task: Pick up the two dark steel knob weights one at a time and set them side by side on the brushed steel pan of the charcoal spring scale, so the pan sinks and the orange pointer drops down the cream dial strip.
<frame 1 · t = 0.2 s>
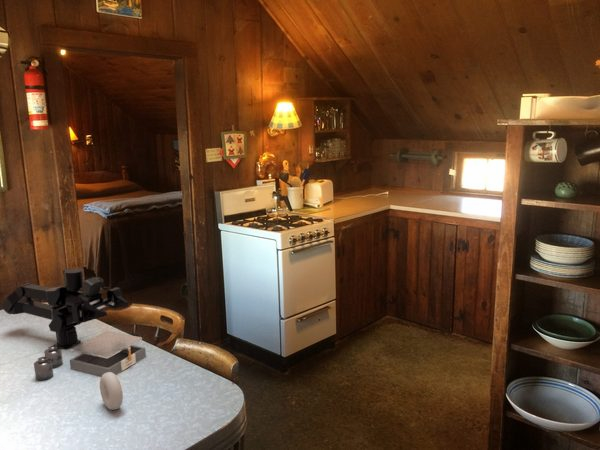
hand: (117, 309, 166), 17 cm above the table, tool horizontal, fingers open, 9 cm apart
weight 1: (44, 377, 157), on the table
weight 2: (54, 365, 165), on the table
scale pan: (109, 349, 165), point 5 cm above the table, slide at 0.4 cm
donut: (113, 408, 140), on the table
scale base: (109, 362, 166), on the table
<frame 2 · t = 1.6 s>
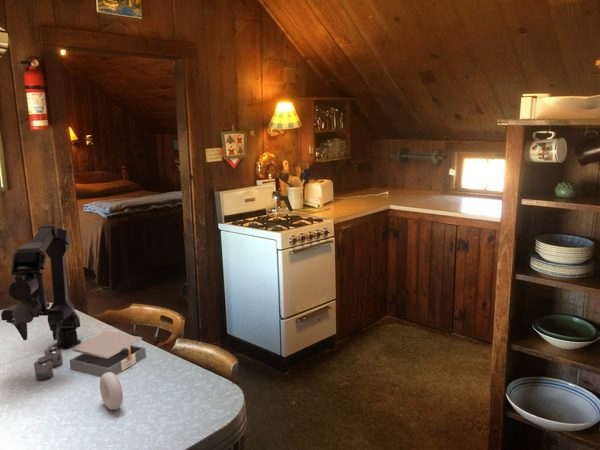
hand: (40, 339, 155), 12 cm above the table, tool pointing down, fingers open, 9 cm apart
nothing on the table moved.
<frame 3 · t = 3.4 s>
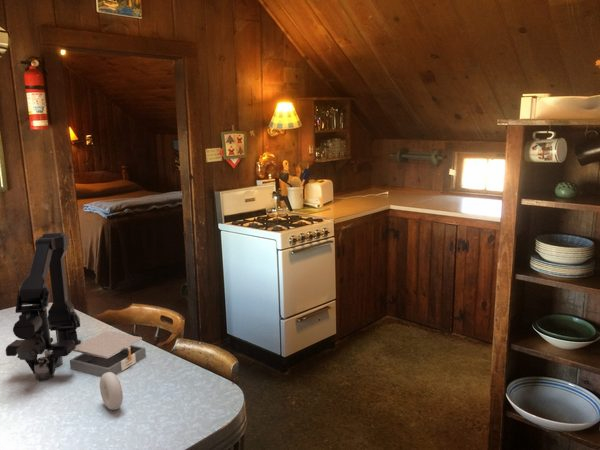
hand: (44, 374, 157), 1 cm above the table, tool pointing down, fingers closed on weight 1, 5 cm apart
weight 1: (44, 377, 157), on the table, touching gripper
everything else where it was.
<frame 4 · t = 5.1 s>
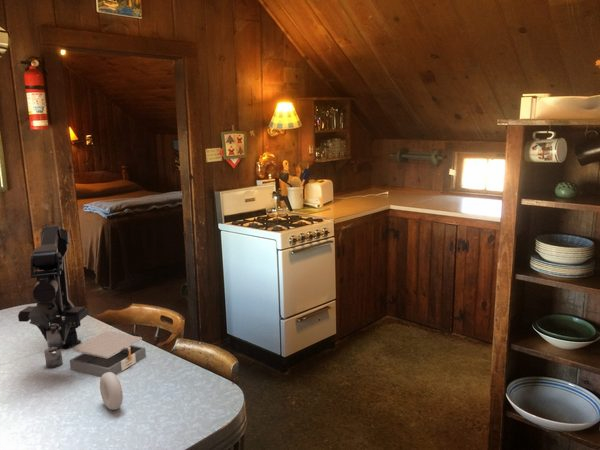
hand: (56, 340, 157), 11 cm above the table, tool pointing down, fingers closed on weight 1, 5 cm apart
weight 1: (56, 344, 157), point 10 cm above the table, touching gripper
everything else where it was.
when the fingers open (10 cm above the table, at t = 6.8 s): weight 1 drops 3 cm, resting on scale pan.
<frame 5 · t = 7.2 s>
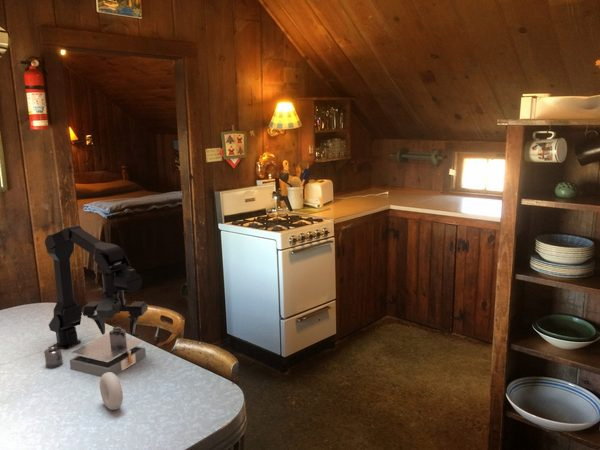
hand: (117, 334, 164), 10 cm above the table, tool pointing down, fingers open, 9 cm apart
weight 1: (118, 346, 165), point 5 cm above the table, touching scale pan
scale pan: (110, 352, 165), point 4 cm above the table, slide at 1.6 cm, touching weight 1
everything else where it was.
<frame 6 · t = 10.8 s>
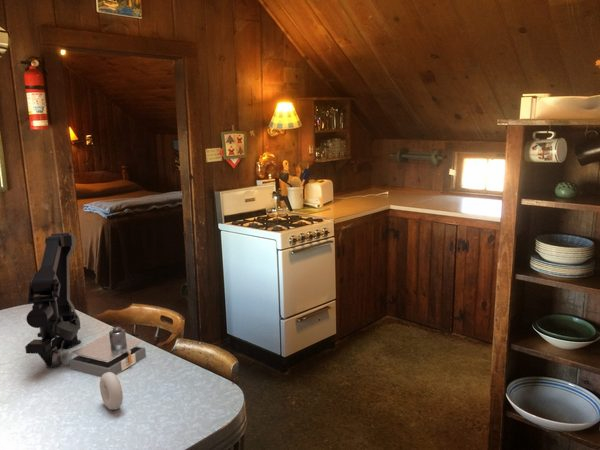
hand: (54, 362, 165), 1 cm above the table, tool pointing down, fingers closed on weight 2, 5 cm apart
weight 2: (54, 365, 165), on the table, touching gripper
everything else where it was.
when the fingers open (9 cm above the table, at t = 13.9 s): weight 2 drops 3 cm, resting on scale pan.
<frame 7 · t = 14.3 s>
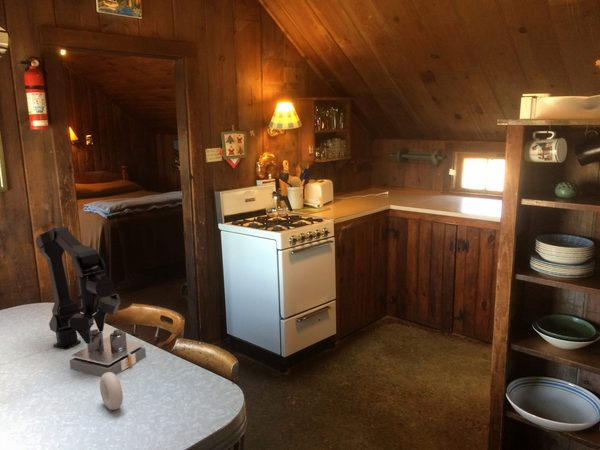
hand: (94, 337, 165), 9 cm above the table, tool pointing down, fingers open, 9 cm apart
weight 2: (96, 349, 165), point 5 cm above the table, touching scale pan
scale pan: (110, 355, 165), point 3 cm above the table, slide at 2.6 cm, touching weight 1, weight 2
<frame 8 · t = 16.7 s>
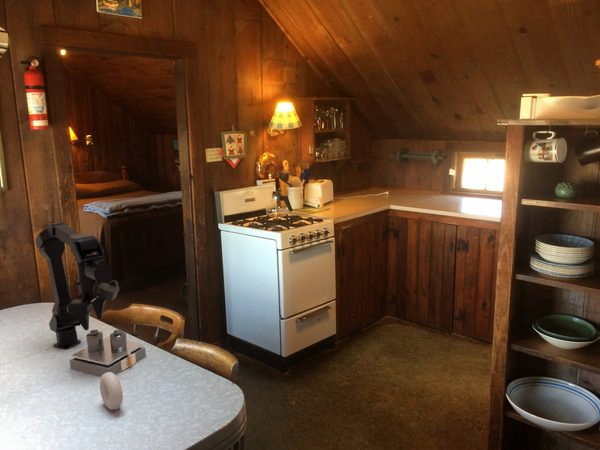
hand: (93, 324, 164), 13 cm above the table, tool pointing down, fingers open, 9 cm apart
nothing on the table moved.
at the end: weight 1 inside the target area on the scale base (3.7 cm from its centre), point 4.6 cm above the scale base's base; weight 2 inside the target area on the scale base (3.9 cm from its centre), point 4.5 cm above the scale base's base; scale pan slide at 2.6 cm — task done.
